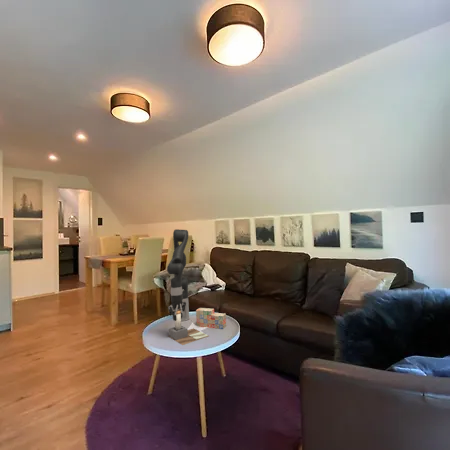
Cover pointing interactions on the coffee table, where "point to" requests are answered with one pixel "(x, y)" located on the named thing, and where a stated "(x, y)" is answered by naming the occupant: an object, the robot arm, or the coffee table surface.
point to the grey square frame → (178, 333)
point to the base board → (191, 337)
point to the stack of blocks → (210, 318)
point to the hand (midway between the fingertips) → (177, 319)
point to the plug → (178, 320)
